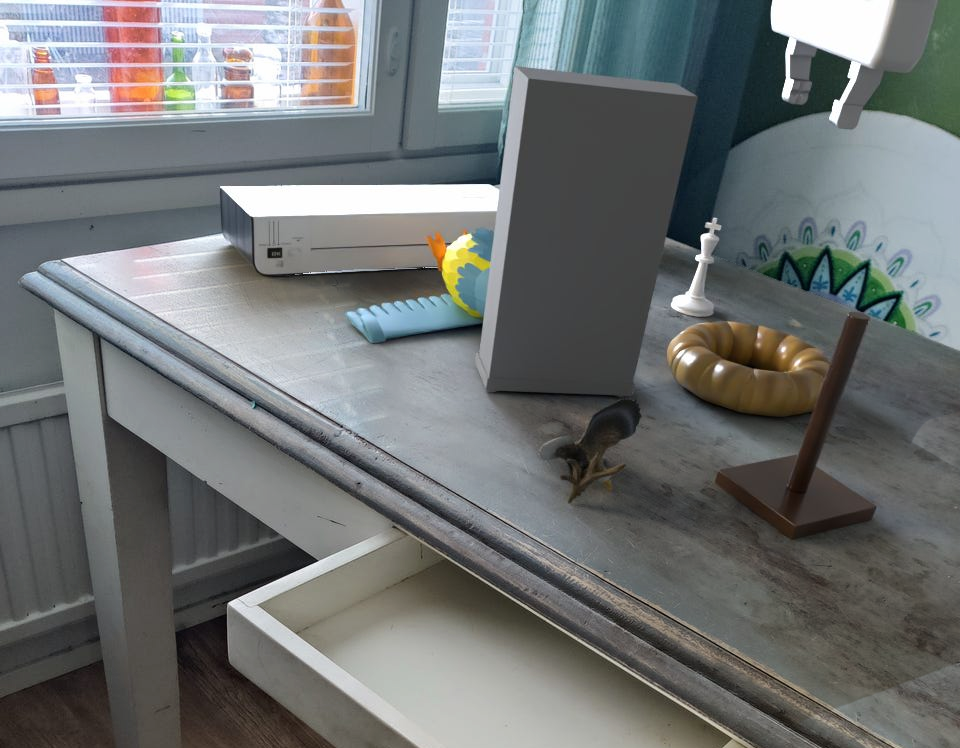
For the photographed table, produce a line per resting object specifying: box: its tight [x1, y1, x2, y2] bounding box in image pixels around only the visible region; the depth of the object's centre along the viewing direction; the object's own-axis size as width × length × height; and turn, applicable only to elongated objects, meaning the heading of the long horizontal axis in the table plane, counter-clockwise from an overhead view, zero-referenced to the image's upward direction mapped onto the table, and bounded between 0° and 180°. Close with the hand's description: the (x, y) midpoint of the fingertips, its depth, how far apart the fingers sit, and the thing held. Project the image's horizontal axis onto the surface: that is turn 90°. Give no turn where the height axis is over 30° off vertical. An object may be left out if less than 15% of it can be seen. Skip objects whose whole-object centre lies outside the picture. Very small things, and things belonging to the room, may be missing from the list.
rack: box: [714, 311, 878, 540], centre depth 75 cm, size 9×9×15 cm
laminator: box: [219, 183, 500, 278], centre depth 113 cm, size 34×12×6 cm, turn 118°
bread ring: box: [666, 320, 831, 418], centre depth 96 cm, size 16×16×4 cm
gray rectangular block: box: [474, 65, 699, 398], centre depth 85 cm, size 14×6×25 cm, turn 100°
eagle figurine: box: [538, 397, 643, 504], centre depth 76 cm, size 8×7×9 cm
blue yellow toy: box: [344, 228, 494, 344], centre depth 100 cm, size 28×9×15 cm
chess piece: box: [670, 217, 722, 318], centre depth 110 cm, size 5×5×10 cm
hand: (816, 114), depth 82 cm, fingers open, 8 cm apart
